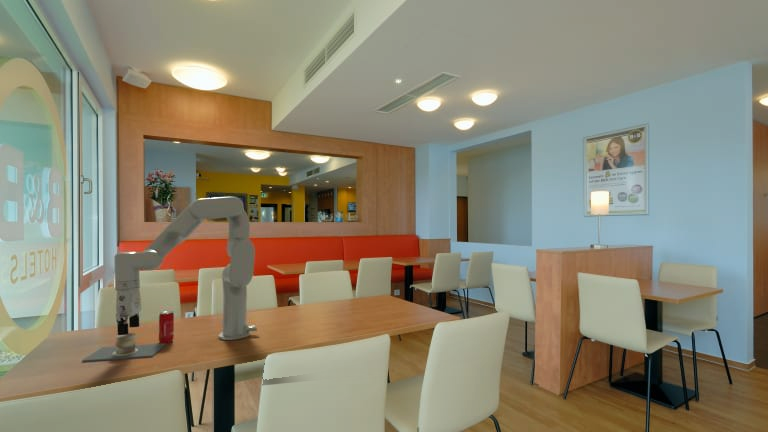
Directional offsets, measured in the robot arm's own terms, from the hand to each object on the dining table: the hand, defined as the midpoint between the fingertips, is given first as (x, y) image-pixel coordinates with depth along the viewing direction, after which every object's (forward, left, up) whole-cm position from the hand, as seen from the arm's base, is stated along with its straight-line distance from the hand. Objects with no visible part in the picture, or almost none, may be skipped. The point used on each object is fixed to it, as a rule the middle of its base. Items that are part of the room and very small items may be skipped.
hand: (128, 330), depth 138 cm
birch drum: (+1, 0, -8) cm, 8 cm away
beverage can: (-9, -12, -9) cm, 17 cm away
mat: (+1, -1, -8) cm, 8 cm away
